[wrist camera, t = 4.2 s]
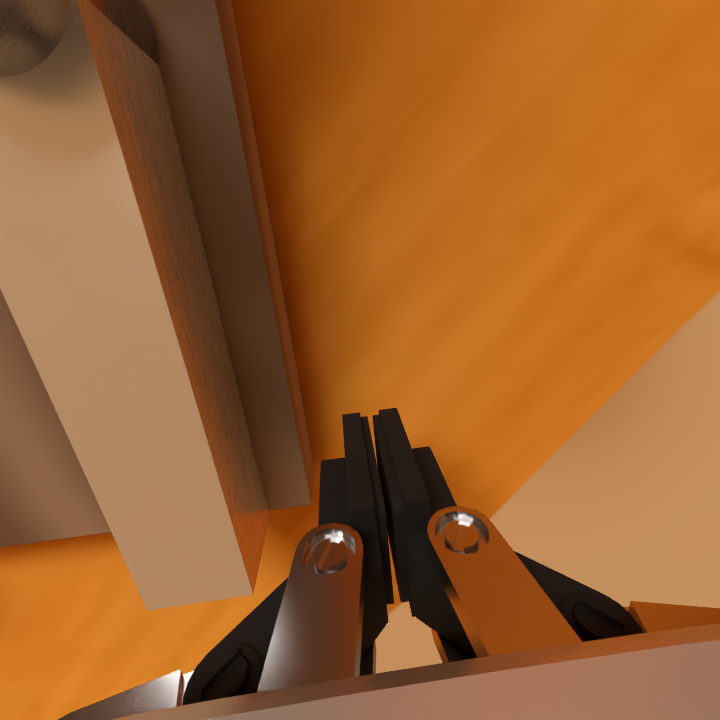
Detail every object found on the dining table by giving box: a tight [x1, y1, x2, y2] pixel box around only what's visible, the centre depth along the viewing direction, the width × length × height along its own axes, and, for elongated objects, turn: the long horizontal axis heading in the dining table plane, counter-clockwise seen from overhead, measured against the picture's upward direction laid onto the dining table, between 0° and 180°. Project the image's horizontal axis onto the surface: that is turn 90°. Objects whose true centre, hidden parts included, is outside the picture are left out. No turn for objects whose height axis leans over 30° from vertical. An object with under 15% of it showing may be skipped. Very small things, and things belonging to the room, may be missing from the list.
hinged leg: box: [0, 0, 269, 610], centre depth 8 cm, size 16×3×4 cm, turn 6°
